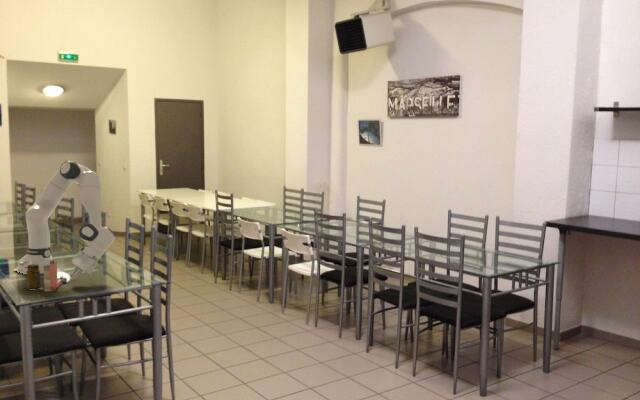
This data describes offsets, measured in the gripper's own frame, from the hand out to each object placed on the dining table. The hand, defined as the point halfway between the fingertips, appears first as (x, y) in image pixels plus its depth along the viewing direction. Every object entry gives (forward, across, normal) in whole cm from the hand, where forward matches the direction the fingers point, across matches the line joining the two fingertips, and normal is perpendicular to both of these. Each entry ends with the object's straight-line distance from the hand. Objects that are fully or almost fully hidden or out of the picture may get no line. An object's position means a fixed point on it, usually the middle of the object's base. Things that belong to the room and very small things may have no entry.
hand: (73, 275), depth 299 cm
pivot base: (+6, +12, -3) cm, 14 cm away
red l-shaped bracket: (+10, +2, +2) cm, 10 cm away
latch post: (+13, 0, +5) cm, 14 cm away
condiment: (+16, +8, +8) cm, 20 cm away
